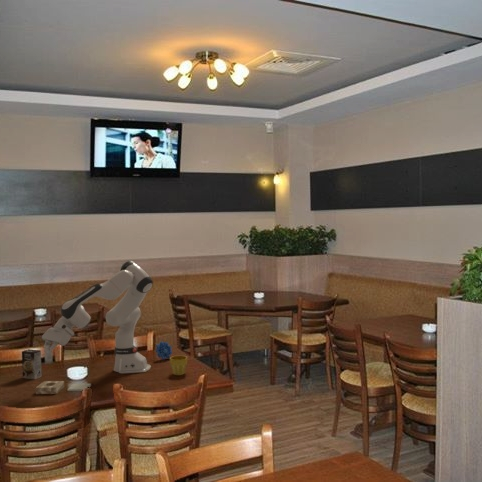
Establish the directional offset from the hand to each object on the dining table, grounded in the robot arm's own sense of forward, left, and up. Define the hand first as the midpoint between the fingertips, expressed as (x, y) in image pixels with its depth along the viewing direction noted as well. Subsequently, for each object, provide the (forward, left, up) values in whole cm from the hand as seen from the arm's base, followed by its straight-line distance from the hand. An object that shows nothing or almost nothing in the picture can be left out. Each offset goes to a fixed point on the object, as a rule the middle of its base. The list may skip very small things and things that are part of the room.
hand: (47, 349), depth 319 cm
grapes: (-52, -63, -23) cm, 85 cm away
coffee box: (+20, -25, -23) cm, 40 cm away
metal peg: (0, -1, -8) cm, 8 cm away
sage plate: (-16, -4, -23) cm, 28 cm away
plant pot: (-67, -31, -23) cm, 77 cm away
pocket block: (-1, 0, -23) cm, 23 cm away
